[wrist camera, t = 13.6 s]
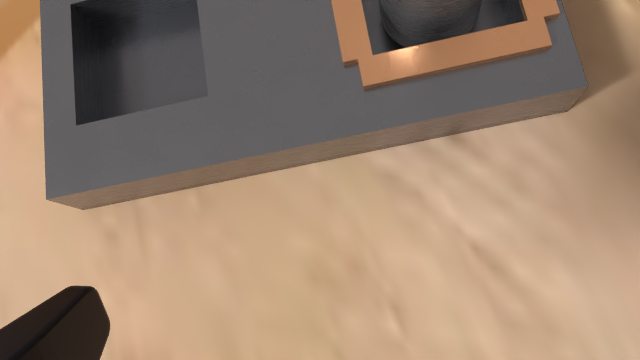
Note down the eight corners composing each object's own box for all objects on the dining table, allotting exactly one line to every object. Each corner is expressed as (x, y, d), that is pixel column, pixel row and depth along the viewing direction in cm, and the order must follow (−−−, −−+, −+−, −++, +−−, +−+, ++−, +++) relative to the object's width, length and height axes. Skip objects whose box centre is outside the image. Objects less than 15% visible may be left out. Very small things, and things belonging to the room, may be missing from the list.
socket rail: (497, -122, 25) (508, -176, 22) (567, 111, 22) (591, 83, 19) (72, -12, 27) (34, -48, 25) (83, 209, 24) (41, 198, 22)
